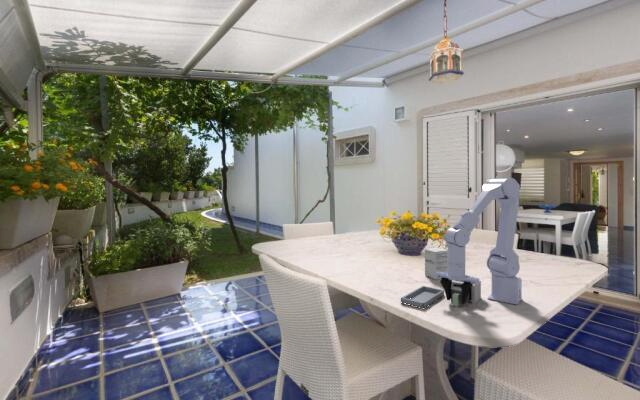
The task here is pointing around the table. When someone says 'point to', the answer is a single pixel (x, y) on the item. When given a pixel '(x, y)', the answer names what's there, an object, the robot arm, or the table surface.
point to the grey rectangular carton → (459, 296)
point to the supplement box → (435, 261)
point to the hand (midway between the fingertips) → (456, 301)
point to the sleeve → (475, 290)
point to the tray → (422, 296)
